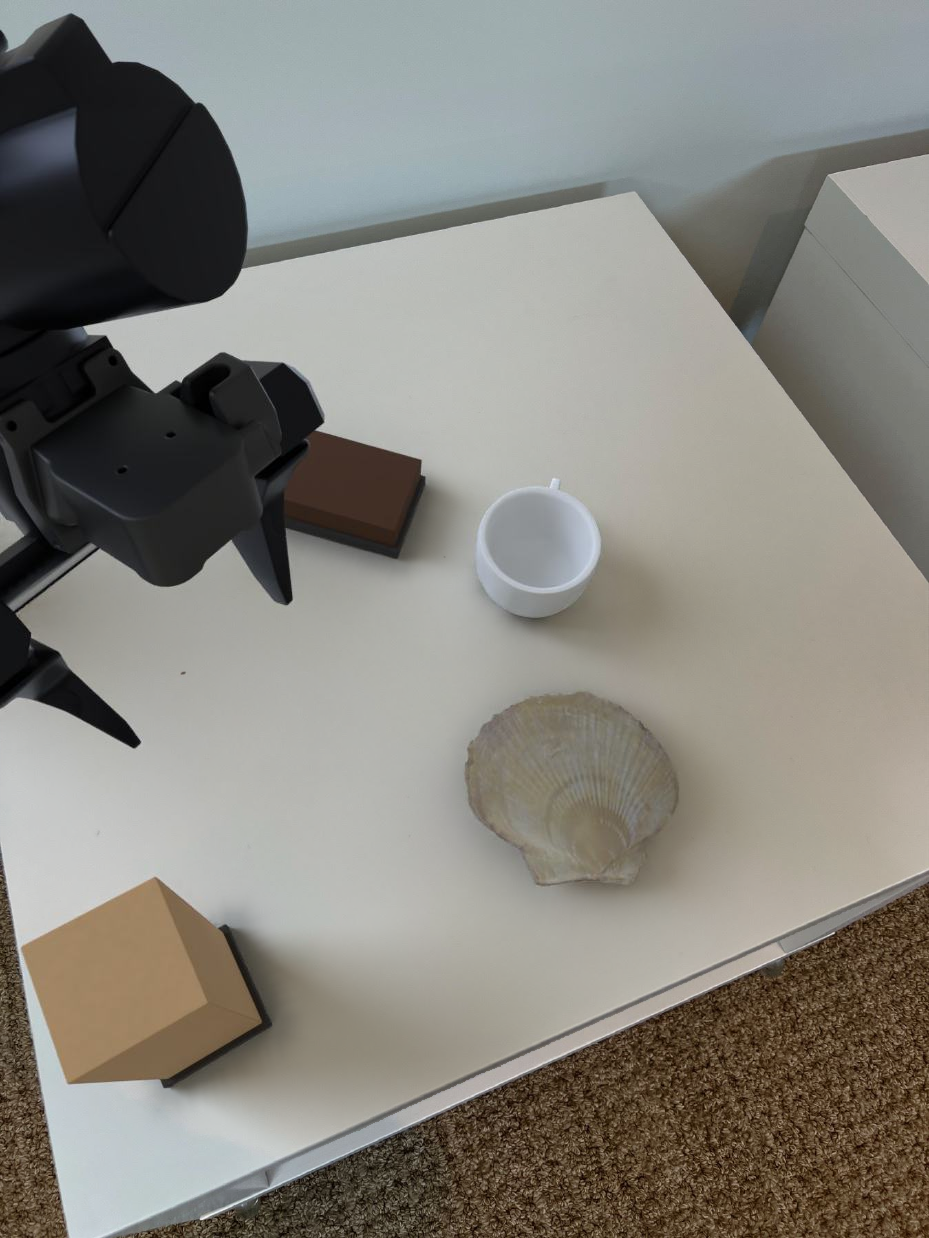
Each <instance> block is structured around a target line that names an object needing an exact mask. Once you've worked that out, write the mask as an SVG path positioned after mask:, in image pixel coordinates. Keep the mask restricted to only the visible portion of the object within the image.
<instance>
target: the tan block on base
mask: <svg viewBox="0 0 929 1238" xmlns="http://www.w3.org/2000/svg"><path fill="white" fill-rule="evenodd" d="M20 952H21V954H22V957H23V960H24V962H25V965H26V968H27V971H28V975H29V977H30V980H31V983H32V986H33V989H34V992H35V995H36V998H37V1001H38V1003H39V1007H40V1009H41V1012H42V1015H43V1019H44V1021H45V1024H46V1026H47V1030H48V1032H49V1035H50V1038H51V1041H52V1045H53V1047H54V1050H55V1052H56V1055H57V1058H58V1061H59V1064H60V1067H61V1069H62V1073H63V1075H64V1079H65V1082H66V1084H67V1085H82V1084H83V1085H85V1084H100V1083H115V1082H117V1083H118V1082H135V1081H151V1080H152V1081H154V1080H160V1083H161V1085H162V1088H163V1089H171V1087H173V1086H175V1085H176V1084H178V1083H180V1082H181V1081H183V1080H185V1079H187V1078H188V1077H190V1076H191V1075H193V1074H195V1073H197V1072H198V1071H200V1070H202V1069H203V1068H205V1067H207V1066H209V1065H210V1064H211V1063H213V1062H215V1061H216V1060H218V1059H220V1058H221V1057H223V1056H225V1055H227V1054H228V1053H230V1052H231V1051H234V1050H235V1049H236V1048H238V1047H240V1046H241V1045H243V1044H245V1043H247V1042H248V1041H250V1040H252V1039H253V1038H255V1037H257V1036H258V1035H260V1034H262V1033H263V1032H265V1031H266V1030H269V1029H270V1028H271V1027H273V1023H272V1021H271V1018H270V1016H269V1014H268V1012H267V1009H266V1007H265V1005H264V1002H263V1001H262V998H261V995H260V994H259V991H258V989H257V987H256V984H255V982H254V980H253V978H252V975H251V973H250V971H249V969H248V967H247V964H246V962H245V959H244V957H243V955H242V952H241V951H240V948H239V946H238V944H237V941H236V939H235V937H234V935H233V932H232V930H231V928H230V926H229V925H228V924H226V923H225V924H222V925H221V926H219V927H217V926H216V925H215V924H214V923H212V922H211V921H210V920H208V919H207V918H206V917H205V916H204V915H203V914H201V912H199V911H198V910H197V909H195V908H194V907H193V906H192V905H191V904H190V903H188V902H187V901H186V900H185V899H184V898H182V896H180V895H179V894H178V893H176V892H175V891H174V890H173V889H171V888H170V887H169V886H168V885H167V884H165V882H163V881H162V880H161V879H160V878H158V877H157V876H153V877H151V878H150V879H148V880H146V881H143V882H142V883H140V884H138V885H135V886H134V887H132V888H130V889H128V890H127V891H125V892H123V893H121V894H119V895H117V896H115V897H113V898H111V899H109V900H107V901H105V902H103V903H102V904H100V905H98V906H96V907H94V908H92V909H90V910H88V911H86V912H84V913H82V914H80V915H79V916H77V917H75V918H72V919H71V920H69V921H67V922H65V923H64V924H62V925H60V926H58V927H55V928H53V929H51V930H50V931H48V932H46V933H45V934H42V935H40V936H38V937H36V938H35V939H32V940H31V941H29V942H27V943H24V944H23V945H21V946H20Z"/></svg>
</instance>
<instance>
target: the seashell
mask: <svg viewBox="0 0 929 1238" xmlns="http://www.w3.org/2000/svg"><path fill="white" fill-rule="evenodd" d="M466 751H467V754H468V755H467V759H466V761H465V762H464V770H463V771H464V773H463V774H464V782H465V784H466V792H467V801H468V805H469V808H470V809H471V811H472V813H473V815H474V817H475V818H476V819H477V820H478V821H479V822H480V823H481V825H483V826H485V827H486V828H487V829H488V830H490V831H492V832H493V833H494V834H495V835H496V836H497V837H498V838H499V839H501V840H503V841H504V842H506V843H508V844H510V845H512V847H515V848H517V849H518V850H520V852H522V853H521V854H522V858H523V860H524V862H525V864H526V867H527V869H528V872H529V874H530V876H531V879H532V881H533V883H534V885H536V886H539V887H551V886H557V885H564V884H575V883H576V884H578V883H586V882H597V883H604V884H605V883H606V884H614V885H627V886H628V885H631V884H633V883H634V882H635V878H636V877H637V875H638V873H639V872H640V868H641V867H642V866H643V865H644V863H645V862H646V860H647V850H648V849H647V846H646V842H647V840H649V839H650V838H652V837H653V836H655V835H657V834H658V833H659V832H660V831H661V830H662V828H664V827H665V826H666V824H667V823H668V821H669V819H670V818H671V817H673V815H674V813H675V812H676V809H677V807H678V804H679V802H680V782H679V779H678V775H677V771H676V769H675V767H674V765H673V763H672V760H671V758H670V757H669V755H668V753H667V752H666V750H665V748H664V747H663V746H662V744H661V743H660V741H659V740H658V738H657V737H656V736H655V734H654V733H653V732H652V731H651V730H650V729H648V728H647V727H645V725H644V723H643V722H642V721H641V720H639V719H637V718H635V717H634V716H633V715H632V713H630V711H628V710H627V709H626V708H625V707H623V706H621V705H619V704H617V703H616V702H614V701H611V700H610V699H608V698H605V697H600V696H597V695H595V694H593V693H591V692H589V691H574V692H573V693H568V694H566V693H561V692H558V693H553V694H552V693H551V694H550V693H544V694H542V695H528V696H526V697H525V698H524V699H523V700H522V701H519V702H517V703H514V704H511V705H510V706H509V707H508V708H505V709H503V710H502V711H500V712H499V713H496V714H493V715H492V717H491V719H490V720H489V721H487V722H485V723H483V724H482V725H481V727H480V729H479V731H478V734H477V736H476V737H474V738H473V739H471V740H470V741H469V743H468V746H467V747H466Z"/></svg>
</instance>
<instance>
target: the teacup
mask: <svg viewBox="0 0 929 1238" xmlns="http://www.w3.org/2000/svg"><path fill="white" fill-rule="evenodd" d="M561 482H562V480H561V479H560V478H557V477H553V478H552V480H551V482H550V485H549V486H541V485H534V486H532V485H531V486H524V487H520V488H516V489H513V490H511V491H509V492H506V493H505V494H503V495H502V496H500V497H499V498H497V499H496V500H495V501H494V502H493V503H492V504H491V505H490V506H489V508H488V509H487V510H486V512H485V513H484V515H483V517H482V519H481V521H480V524H479V527H478V529H477V530H478V531H477V536H476V545H475V568H476V572H477V576H478V579H479V582H480V584H481V585H482V588H483V590H484V591H485V592H486V594H487V595H488V596H489V598H490V599H491V600H492V601H493V602H494V603H495V604H496V605H497V606H498V607H500V608H502V609H503V610H505V611H506V612H508V613H511V614H513V615H517V616H519V617H524V618H533V619H534V618H535V619H536V618H537V619H538V618H545V617H550V616H553V615H556V614H557V613H560V612H562V611H564V610H565V609H568V607H571V606H572V605H573V604H574V603H575V602H576V601H578V599H579V598H580V597H581V596H582V594H583V593H584V592H585V590H586V589H587V587H588V586H589V584H590V582H591V580H592V578H593V577H594V575H595V573H596V570H597V568H598V566H599V562H600V558H601V552H602V539H601V533H600V529H599V527H598V524H597V522H596V519H595V518H594V516H593V514H592V513H591V512H590V511H589V509H588V508H587V507H586V506H585V505H584V504H583V503H582V502H581V501H580V500H578V499H577V498H575V497H574V496H572V495H571V494H569V493H567V492H565V491H562V490H560V489H561Z"/></svg>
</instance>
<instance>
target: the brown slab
mask: <svg viewBox="0 0 929 1238" xmlns="http://www.w3.org/2000/svg"><path fill="white" fill-rule="evenodd" d="M305 439H306V440H308V441H309V444H310V449H309V452H308V455H307V456H306V457H305V458H304V459H303V460H302V461H300V463H299V464H298V465H297V467H296V469H295V471H294V472H293V474H292V476H291V478H290V480H289V482H288V484H287V486H286V488H285V528H287V529H290V530H293V531H297V532H301V533H304V534H309V535H311V536H315V537H318V538H322V539H325V540H329V541H332V542H336V543H338V544H342V545H347V546H350V547H353V548H357V549H360V550H364V551H368V552H371V553H374V554H377V555H378V554H379V555H381V556H385V557H388V558H392V559H396V560H397V559H398V558H399V556H400V553H401V551H402V547H403V545H404V541H405V540H406V537H407V534H408V532H409V530H410V526H411V523H412V522H413V521H412V520H413V519H414V515H415V513H416V511H417V507H418V505H419V502H420V501H421V500H420V499H421V497H422V494H423V492H424V489H425V487H426V480H427V479H426V477H427V476H425V475H422V461H423V460H422V459H420V458H417V457H413V456H410V455H406V454H402V453H399V452H395V451H392V450H389V449H384V448H381V447H378V446H373V445H370V444H367V443H363V442H359V441H355V440H352V439H349V438H346V437H342V436H337V435H334V434H331V433H328V432H325V431H324V432H323V431H320V430H317V429H316V430H315V431H314V432H312V433H311V434H310V435H309V436H307V437H306V438H305Z"/></svg>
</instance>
